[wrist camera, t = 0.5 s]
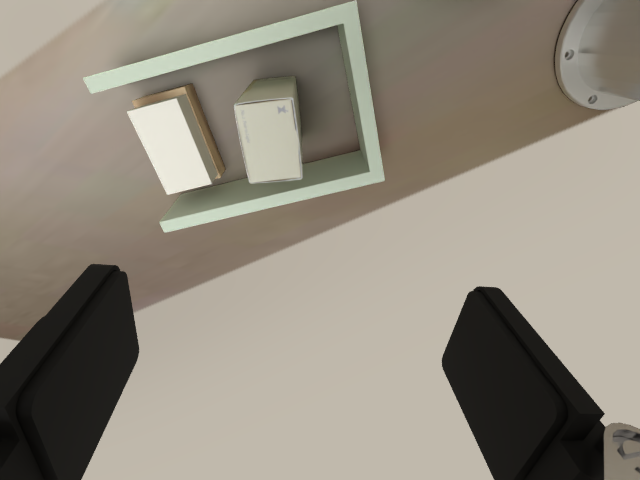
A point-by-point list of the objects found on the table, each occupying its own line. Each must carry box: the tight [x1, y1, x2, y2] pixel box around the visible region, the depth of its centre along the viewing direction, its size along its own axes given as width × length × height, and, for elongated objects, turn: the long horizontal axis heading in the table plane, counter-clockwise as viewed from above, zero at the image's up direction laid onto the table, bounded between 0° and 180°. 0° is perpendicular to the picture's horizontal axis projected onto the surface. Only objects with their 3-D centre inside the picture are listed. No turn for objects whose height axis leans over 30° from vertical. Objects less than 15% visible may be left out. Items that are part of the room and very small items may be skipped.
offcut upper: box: [127, 94, 218, 195], centre depth 34 cm, size 5×8×3 cm, turn 13°
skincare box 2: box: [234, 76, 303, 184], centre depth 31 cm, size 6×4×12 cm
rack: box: [83, 0, 385, 233], centre depth 34 cm, size 22×14×7 cm, turn 104°
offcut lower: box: [132, 84, 225, 179], centre depth 37 cm, size 5×9×3 cm, turn 14°
